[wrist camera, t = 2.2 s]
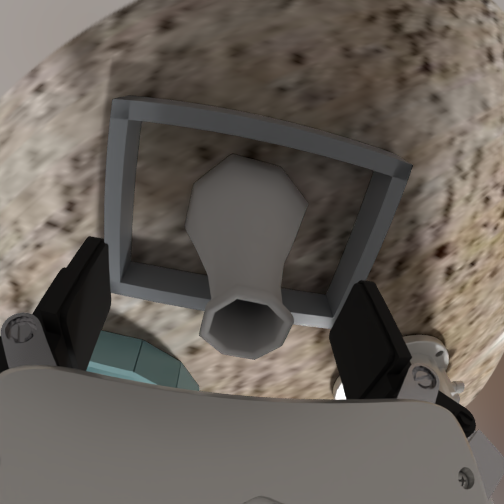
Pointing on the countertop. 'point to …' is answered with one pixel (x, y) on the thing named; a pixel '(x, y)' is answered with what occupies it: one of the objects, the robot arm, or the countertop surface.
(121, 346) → the bowl
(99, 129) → the countertop surface
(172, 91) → the countertop surface
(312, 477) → the robot arm
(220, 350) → the flask
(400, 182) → the parts tray
